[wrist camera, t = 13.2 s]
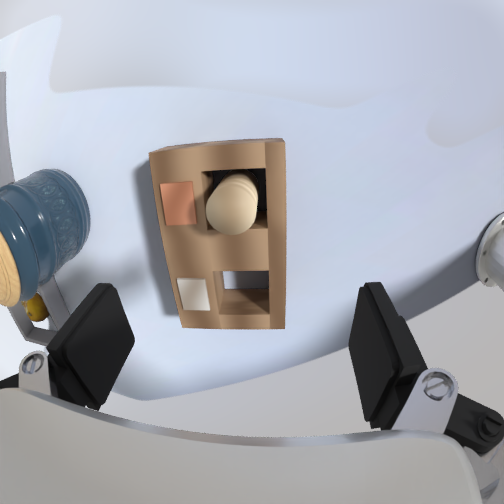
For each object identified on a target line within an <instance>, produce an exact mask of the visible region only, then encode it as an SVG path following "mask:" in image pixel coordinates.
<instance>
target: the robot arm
mask: <svg viewBox="0 0 504 504" xmlns="http://www.w3.org/2000/svg"><path fill="white" fill-rule="evenodd" d="M476 273H477V276H478V278H479V280H480V281H481V282H482V283H483V284H484V285H486V286H488V287H494V286H497V285H498V286H499V287H500V288H501V289H502V290H503V291H504V213H503V214H501V215H499V216H498V217H497V218H496V219H495V220H494V221H493V222H492V223H491V224H490V226H489V227H488V229H487V230H486V232H485V234H484V236H483V237H482V240H481V242H480V245H479V248H478V251H477V256H476ZM134 342H135V338H134V335H133V332H132V330H131V327H130V325H129V322H128V319H127V317H126V314H125V312H124V309H123V306H122V303H121V301H120V298H119V295H118V292H117V290H116V288H114V287H113V285H112V284H109V283H98V284H97V285H96V286H95V287H94V288H93V289H92V291H91V292H90V293H89V294H88V295H87V296H86V298H85V299H84V300H83V301H82V302H81V304H80V305H79V306H78V307H77V308H76V310H75V311H74V312H73V313H72V315H71V316H70V317H69V318H68V320H67V321H66V322H65V323H64V325H63V326H62V327H61V328H60V330H59V331H58V332H57V334H56V335H55V336H54V337H53V339H52V340H51V341H50V343H49V344H48V345H47V347H46V349H47V350H48V352H49V355H48V356H47V355H46V354H45V353H44V352H42V351H34V352H31V353H30V354H28V355H27V356H25V357H24V359H23V360H22V361H21V363H20V366H19V373H18V374H16V375H13V376H11V377H9V378H6V379H4V380H1V381H0V504H504V419H503V417H502V416H501V415H500V414H499V413H498V412H496V411H494V410H492V409H490V408H488V407H486V406H484V405H482V404H480V403H477V402H475V401H473V400H471V399H469V398H467V397H465V396H463V395H461V394H458V383H457V381H456V379H455V377H454V376H453V375H452V374H451V373H450V372H448V371H446V370H444V369H441V368H430V369H428V368H427V366H426V363H425V361H424V359H423V357H422V355H421V352H420V350H419V348H418V346H417V344H416V342H415V340H414V338H413V336H412V334H411V332H410V330H409V328H408V326H407V324H406V322H405V320H404V318H403V317H402V316H398V314H397V312H396V310H395V308H394V306H393V304H392V302H391V300H390V298H389V296H388V294H387V292H386V291H385V289H384V287H383V285H382V283H381V282H369V283H365V284H364V287H360V288H359V293H358V299H357V304H356V309H355V314H354V319H353V324H352V329H351V334H350V338H349V351H350V355H351V359H352V363H353V368H354V372H355V376H356V381H357V385H358V390H359V394H360V399H361V404H362V409H363V414H364V419H365V421H366V422H368V421H370V425H371V429H374V428H381V431H373V432H363V433H352V434H343V435H331V436H314V437H278V438H276V437H275V438H274V437H273V438H272V437H271V438H270V437H267V438H266V437H241V436H228V435H216V434H206V433H198V432H190V431H183V430H177V429H171V428H165V427H160V426H154V425H149V424H145V423H140V422H136V421H131V420H127V419H123V418H119V417H115V416H111V415H108V414H104V413H101V412H98V411H99V409H100V407H101V405H103V404H104V403H105V402H106V400H107V397H108V395H109V393H110V391H111V389H112V387H113V385H114V383H115V381H116V379H117V377H118V375H119V373H120V371H121V369H122V367H123V365H124V363H125V361H126V359H127V357H128V355H129V353H130V351H131V349H132V347H133V345H134ZM85 406H87V407H88V408H90V409H88V408H85ZM91 409H93V410H91ZM94 410H97V411H94Z"/></svg>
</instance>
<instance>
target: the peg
mask: <svg viewBox="0 0 504 504" xmlns="http://www.w3.org/2000/svg"><path fill="white" fill-rule="evenodd" d="M258 193H259V183H258V180H257V178H256V176H255V175H254V174H253V173H252V172H250V171H248V170H246V169H234V170H231V171H229V172H228V173H227V174H226V175H225V176H224V178H223V179H222V180H221V182H220V183H219V185H218V186H217V188H216V189H215V190H214V192H213V193H212V195H211V196H210V198H209V199H208V201H207V204H206V216H207V219H208V221H209V223H210V224H211V226H212V227H213V228H214V229H216V230H217V231H219V232H221V233H223V234H227V235H237V234H240V233H243V232H245V231H246V230H248V229H249V228H250V227H251V226H252V224H253V223H254V221H255V218H256V211H257V202H258Z"/></svg>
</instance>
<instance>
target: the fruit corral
mask: <svg viewBox="0 0 504 504" xmlns="http://www.w3.org/2000/svg"><path fill="white" fill-rule="evenodd" d="M37 291H38V292H40V294H41V296H42V298H43V301H44V303H45V305H46V307H47V309H48V311H49V313H50V315H51V317H52V319H53V321H54V323H55V325H56V327H57V329H58V331H59V330H60V328H61V327H62V326H63V325H64V323H65V322H66V321H67V320H68V318H69V317H70V314H69V312H68V310H67V307H66V305H65V303H64V301H63V298H62V296H61V294H60V291H59V289H58V286H57V284H56V281H55V279H54V276H52V278H51V279H50V281H49V282H47V283H46V284H44V285H41V286H38V289H37ZM7 308H8V309H9V311H10V313H11V315H12V317H13V319H14V321H15V323H16V325H17V326H18V328H19V330H20V332H21V334H22V335H23V337H24V338H25V340H26V341H29V342H33V343H37V344H40V345H44V346H47V345H48V344H49V343H50V341H51V340H52V339H53V337H54V336H55V335H56V334H57V332H56V331H51V330H46V329H41V328H37V327H34V325H33V323H32V322H31V320H30V319H29V317H28V315H27V313H26V312H25V309H24V306H23V305H22V303H21V301H18V302H17V304H16V305H14V306H12V307H7Z"/></svg>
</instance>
